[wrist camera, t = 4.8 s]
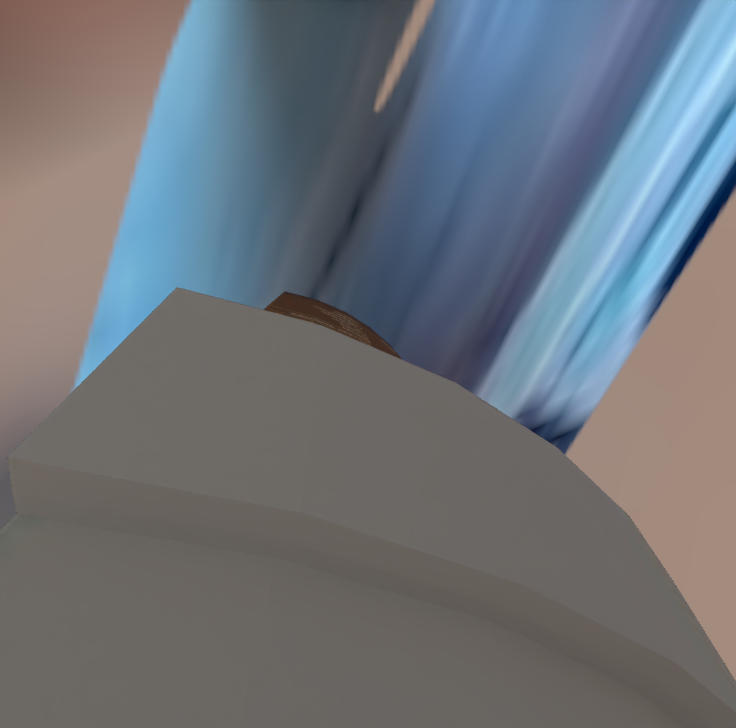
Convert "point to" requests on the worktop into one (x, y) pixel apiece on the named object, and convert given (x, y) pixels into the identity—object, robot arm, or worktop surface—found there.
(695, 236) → the worktop surface
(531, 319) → the worktop surface
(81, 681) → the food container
